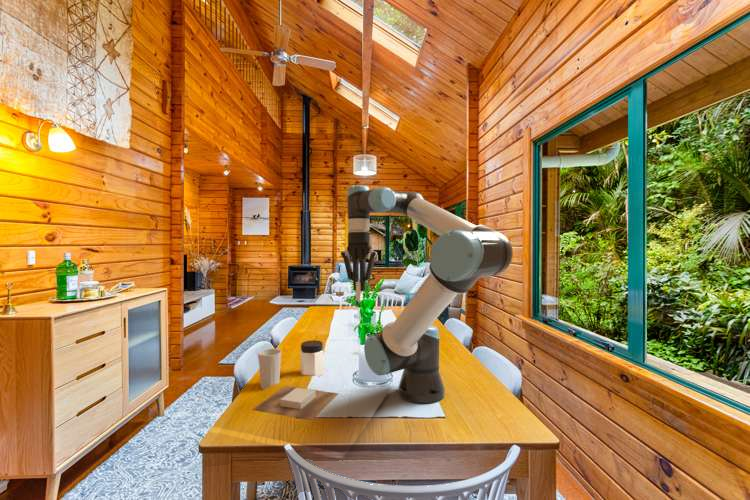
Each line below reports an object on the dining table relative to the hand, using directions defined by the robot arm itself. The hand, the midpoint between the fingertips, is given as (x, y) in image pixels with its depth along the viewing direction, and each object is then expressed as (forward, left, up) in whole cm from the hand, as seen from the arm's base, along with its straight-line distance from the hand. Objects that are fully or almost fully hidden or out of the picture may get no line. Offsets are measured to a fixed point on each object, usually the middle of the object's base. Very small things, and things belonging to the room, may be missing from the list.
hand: (359, 300), depth 121 cm
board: (+14, +18, -30) cm, 38 cm away
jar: (+22, -6, -31) cm, 38 cm away
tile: (+10, +18, -28) cm, 35 cm away
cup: (+31, +8, -31) cm, 44 cm away
